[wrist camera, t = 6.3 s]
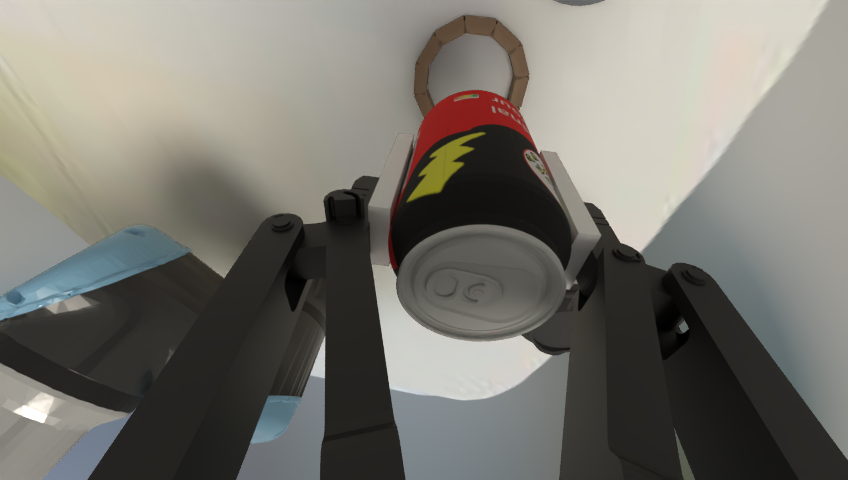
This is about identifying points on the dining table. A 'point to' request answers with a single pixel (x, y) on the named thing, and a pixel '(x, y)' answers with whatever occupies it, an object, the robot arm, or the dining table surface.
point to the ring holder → (480, 28)
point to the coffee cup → (555, 328)
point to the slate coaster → (578, 2)
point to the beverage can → (478, 224)
